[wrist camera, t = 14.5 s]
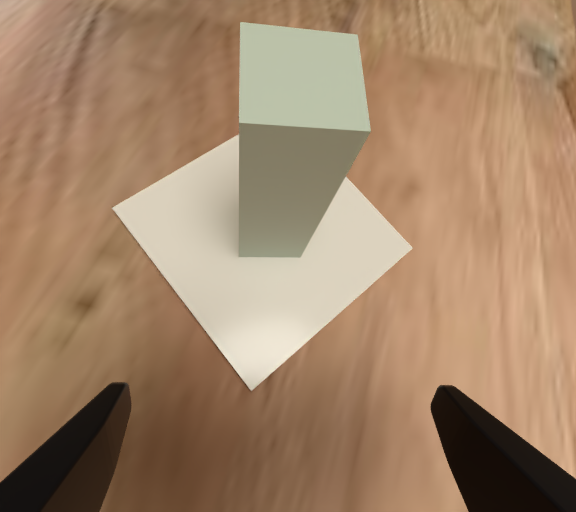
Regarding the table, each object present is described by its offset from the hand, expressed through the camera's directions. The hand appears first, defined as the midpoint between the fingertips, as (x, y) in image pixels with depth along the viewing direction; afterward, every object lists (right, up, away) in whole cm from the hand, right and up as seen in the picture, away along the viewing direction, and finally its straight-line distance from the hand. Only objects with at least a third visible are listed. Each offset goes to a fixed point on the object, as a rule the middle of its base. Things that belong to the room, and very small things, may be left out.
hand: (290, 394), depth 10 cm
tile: (-2, +6, +16) cm, 17 cm away
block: (-2, +6, +15) cm, 17 cm away
